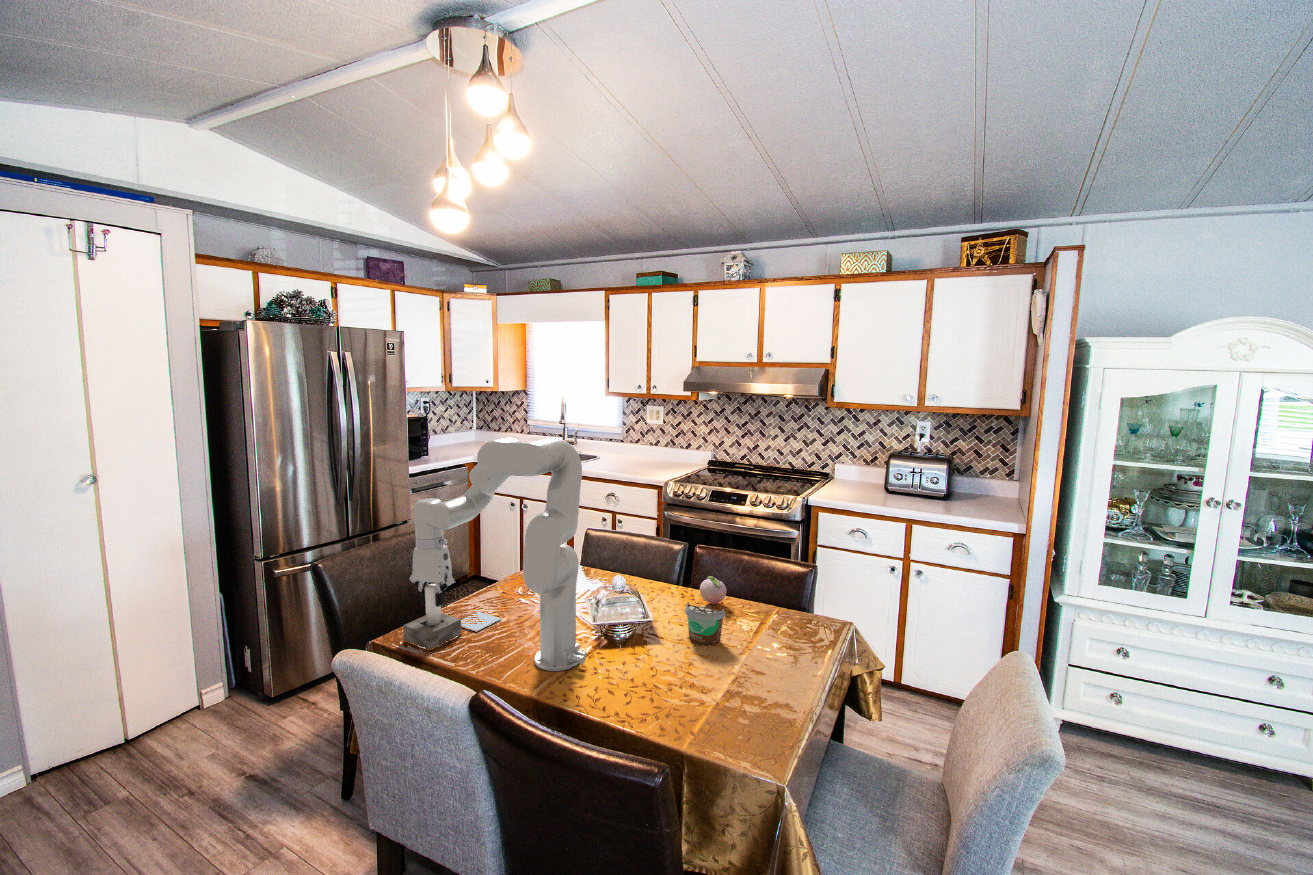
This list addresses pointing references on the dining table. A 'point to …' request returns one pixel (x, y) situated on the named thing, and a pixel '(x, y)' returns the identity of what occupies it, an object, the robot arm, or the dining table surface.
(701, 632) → the food container
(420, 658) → the dining table surface
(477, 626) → the mat
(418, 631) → the socket block
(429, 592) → the peg
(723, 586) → the decorative fruit
